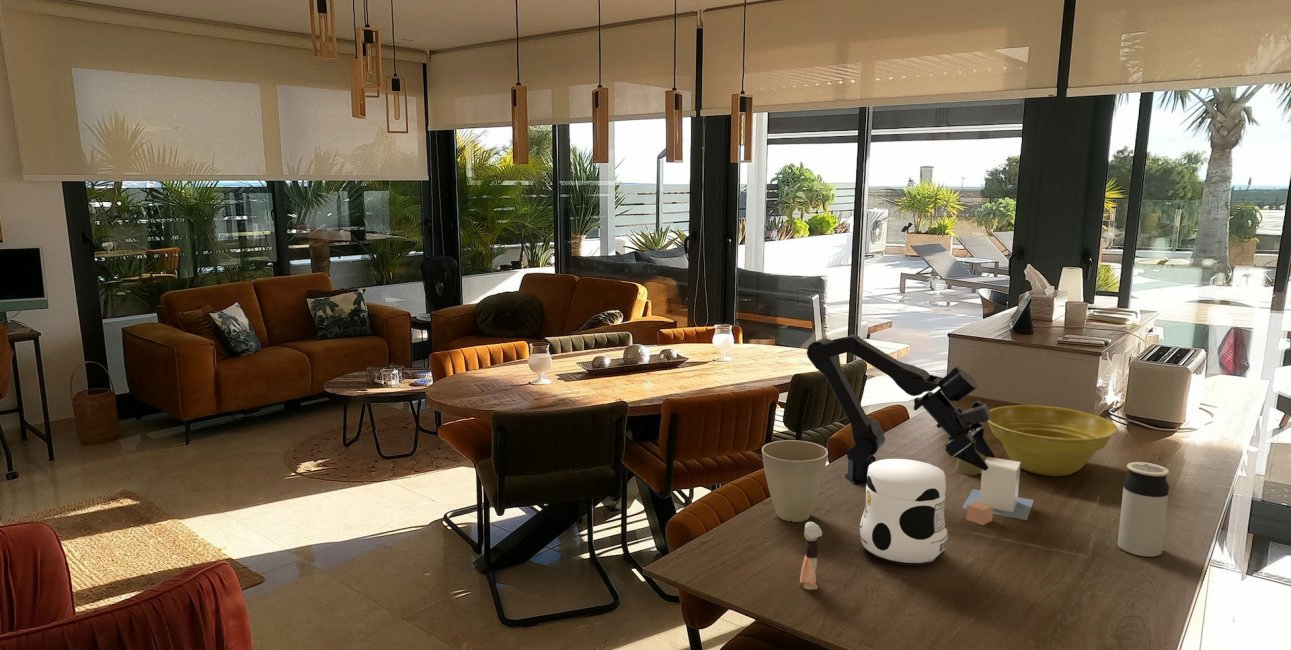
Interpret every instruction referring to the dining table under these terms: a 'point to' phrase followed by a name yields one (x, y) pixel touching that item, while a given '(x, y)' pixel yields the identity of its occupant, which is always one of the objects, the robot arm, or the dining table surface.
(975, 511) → the block
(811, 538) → the grandmother figurine
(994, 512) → the mat
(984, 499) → the white rectangular block
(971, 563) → the dining table surface
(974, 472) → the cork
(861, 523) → the milk container
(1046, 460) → the planter bowl
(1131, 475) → the travel mug
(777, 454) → the plant pot
